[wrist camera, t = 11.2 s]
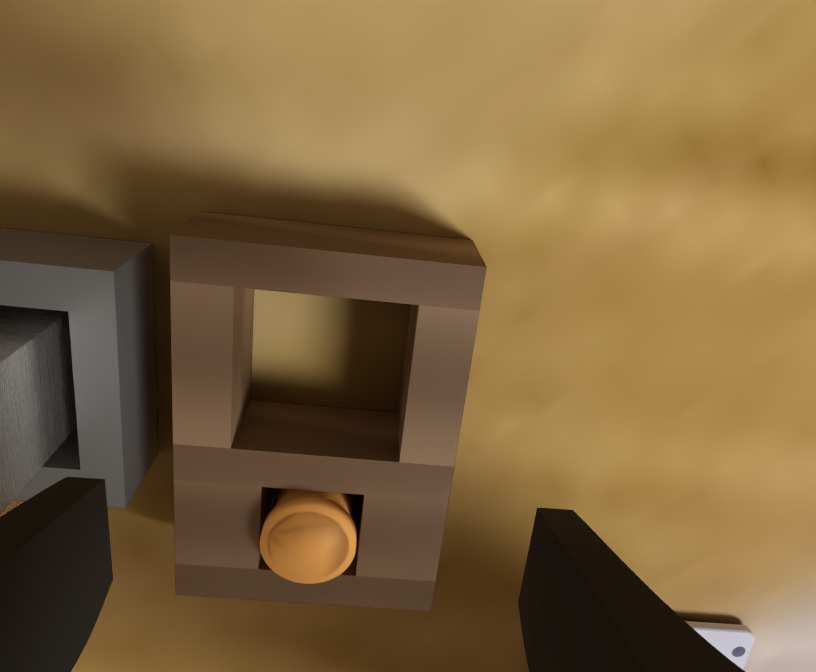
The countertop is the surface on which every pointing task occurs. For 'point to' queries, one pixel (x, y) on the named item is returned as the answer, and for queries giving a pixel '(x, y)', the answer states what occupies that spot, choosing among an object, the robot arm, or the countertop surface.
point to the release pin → (309, 535)
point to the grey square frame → (94, 350)
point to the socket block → (314, 407)
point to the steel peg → (33, 393)
